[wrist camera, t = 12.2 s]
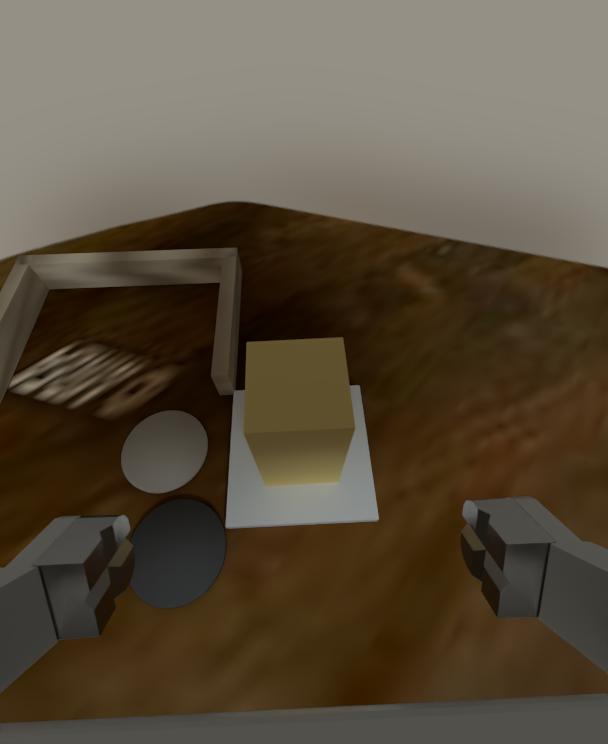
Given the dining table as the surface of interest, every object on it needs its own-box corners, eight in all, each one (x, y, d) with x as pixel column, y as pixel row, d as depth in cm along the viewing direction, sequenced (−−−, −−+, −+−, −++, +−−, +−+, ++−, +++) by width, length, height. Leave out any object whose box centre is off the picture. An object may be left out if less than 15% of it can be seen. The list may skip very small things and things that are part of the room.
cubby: (242, 272, 29) (237, 247, 27) (235, 394, 23) (227, 375, 21) (40, 280, 29) (19, 255, 26) (-16, 405, 23) (-49, 387, 21)
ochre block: (331, 415, 22) (342, 337, 15) (338, 482, 20) (355, 427, 13) (265, 419, 22) (246, 342, 15) (265, 486, 20) (243, 433, 13)
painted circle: (196, 400, 23) (195, 399, 23) (217, 472, 21) (217, 471, 20) (117, 429, 22) (115, 427, 22) (129, 508, 20) (128, 507, 19)
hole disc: (212, 485, 20) (211, 484, 20) (238, 580, 18) (237, 580, 18) (121, 522, 19) (119, 521, 19) (137, 627, 17) (134, 628, 17)
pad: (358, 389, 23) (359, 385, 23) (376, 521, 19) (378, 519, 19) (235, 395, 23) (233, 390, 23) (227, 528, 19) (225, 527, 19)
